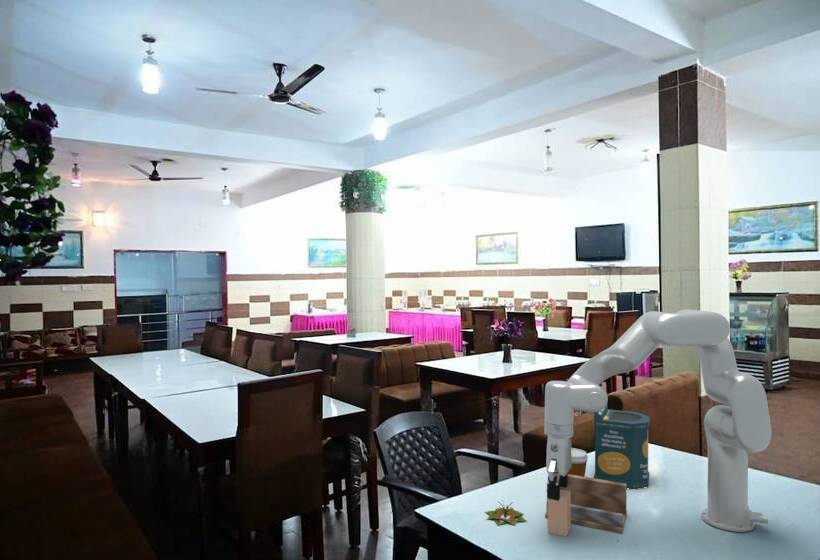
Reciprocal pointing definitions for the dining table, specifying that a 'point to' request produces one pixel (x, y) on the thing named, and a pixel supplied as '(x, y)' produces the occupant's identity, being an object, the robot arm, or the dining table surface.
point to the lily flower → (505, 515)
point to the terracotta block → (560, 514)
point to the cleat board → (597, 503)
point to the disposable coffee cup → (578, 462)
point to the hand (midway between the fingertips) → (557, 492)
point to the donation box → (621, 447)
